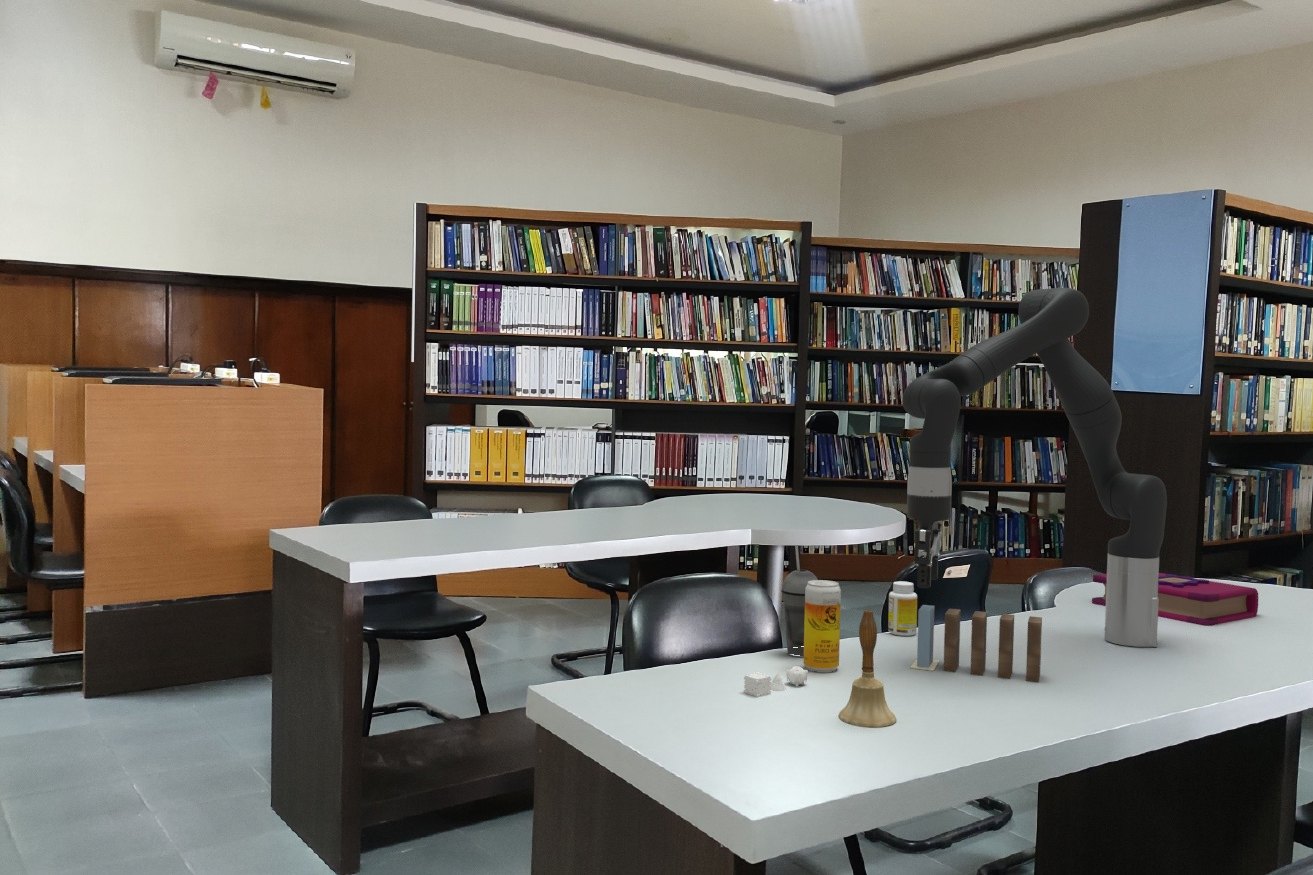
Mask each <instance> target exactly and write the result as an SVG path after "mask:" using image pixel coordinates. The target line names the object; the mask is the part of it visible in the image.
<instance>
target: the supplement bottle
mask: <svg viewBox="0 0 1313 875" xmlns="http://www.w3.org/2000/svg"><path fill="white" fill-rule="evenodd" d="M892 585H893V586H892V591H889V593H888V617H887V618H888V620H887V621H888V624H887V625H888V626H887V627H888V628H887V630H888V632H889V633H890V634H891V635H893V636H902V637H910V636H915V635H916V634H917V631H918V625H917V624H918V619H917V618H918V594H917V593H916V592H914V590H915V588H914V583H913V582H909V581H904V580H903V581H901V580H899V581H894V582H893V583H892Z"/></svg>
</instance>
